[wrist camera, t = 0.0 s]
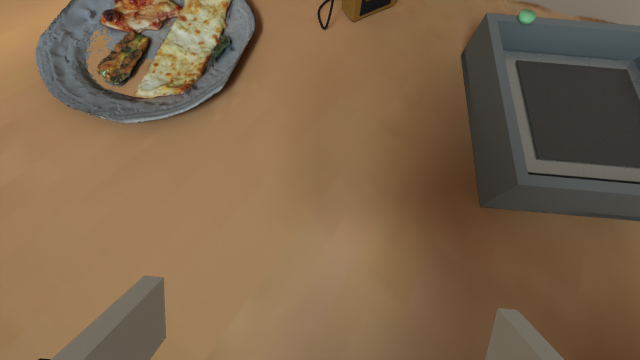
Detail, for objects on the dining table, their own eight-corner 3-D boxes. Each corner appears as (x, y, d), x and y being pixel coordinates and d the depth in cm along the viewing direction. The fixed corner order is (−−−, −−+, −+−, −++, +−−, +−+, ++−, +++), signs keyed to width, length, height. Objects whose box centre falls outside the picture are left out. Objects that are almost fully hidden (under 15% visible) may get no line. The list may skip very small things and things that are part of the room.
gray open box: (680, 224, 30) (774, 204, 24) (480, 206, 30) (523, 181, 24) (619, 67, 38) (678, 21, 32) (460, 54, 38) (489, 6, 32)
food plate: (127, -40, 43) (112, -67, 40) (280, -1, 41) (277, -26, 38) (13, 98, 34) (-19, 77, 31) (200, 155, 33) (188, 140, 29)
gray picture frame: (675, 189, 29) (689, 185, 28) (517, 176, 29) (525, 170, 28) (626, 68, 34) (636, 60, 33) (495, 56, 35) (501, 48, 33)
